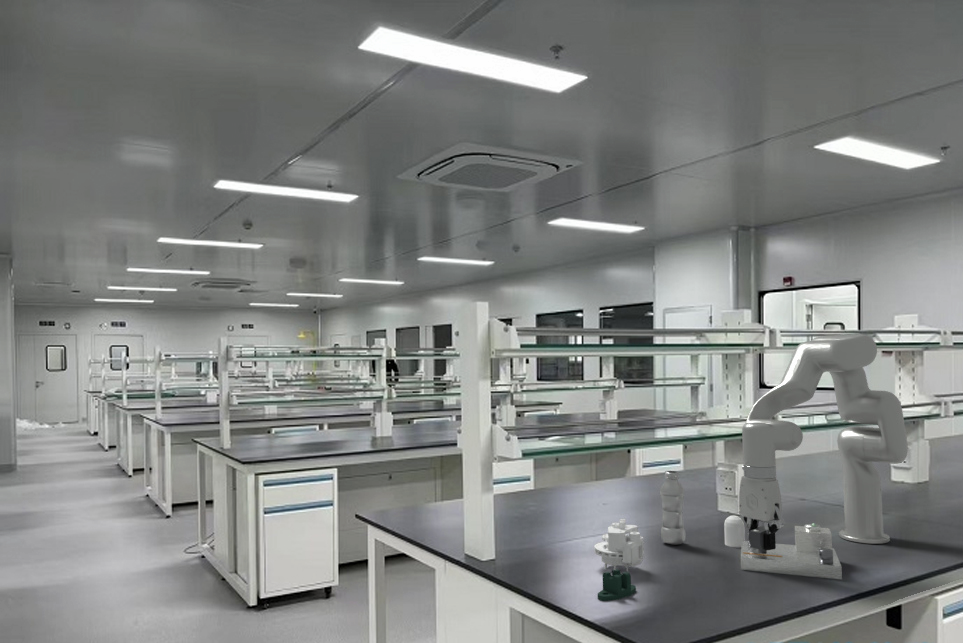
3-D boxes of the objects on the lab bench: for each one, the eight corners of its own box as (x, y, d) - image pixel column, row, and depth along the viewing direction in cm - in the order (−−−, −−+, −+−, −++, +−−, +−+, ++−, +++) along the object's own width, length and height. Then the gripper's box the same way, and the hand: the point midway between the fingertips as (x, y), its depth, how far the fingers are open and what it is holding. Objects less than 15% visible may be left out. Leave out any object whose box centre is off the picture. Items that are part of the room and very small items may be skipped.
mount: (607, 604, 144) (606, 580, 144) (592, 598, 148) (591, 575, 148) (641, 593, 150) (640, 570, 151) (626, 588, 154) (625, 565, 154)
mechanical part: (608, 559, 175) (607, 513, 176) (651, 568, 167) (650, 519, 168) (585, 570, 166) (584, 521, 167) (630, 580, 159) (629, 529, 159)
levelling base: (742, 552, 180) (740, 515, 181) (834, 560, 172) (833, 521, 173) (740, 569, 166) (739, 529, 166) (841, 579, 157) (840, 537, 158)
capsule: (735, 541, 191) (734, 512, 191) (749, 546, 186) (748, 516, 187) (720, 543, 189) (719, 514, 190) (734, 548, 184) (733, 518, 185)
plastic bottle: (666, 539, 194) (664, 469, 195) (689, 543, 189) (687, 471, 190) (657, 544, 189) (655, 472, 190) (680, 548, 184) (678, 474, 185)
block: (763, 548, 171) (763, 524, 172) (774, 550, 169) (773, 526, 170) (750, 555, 166) (749, 530, 166) (760, 557, 164) (759, 532, 164)
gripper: (723, 469, 175) (726, 540, 174) (775, 479, 160) (778, 558, 159) (745, 466, 178) (748, 537, 177) (798, 476, 163) (801, 553, 162)
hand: (762, 546), depth 168 cm, fingers closed on block, 4 cm apart
